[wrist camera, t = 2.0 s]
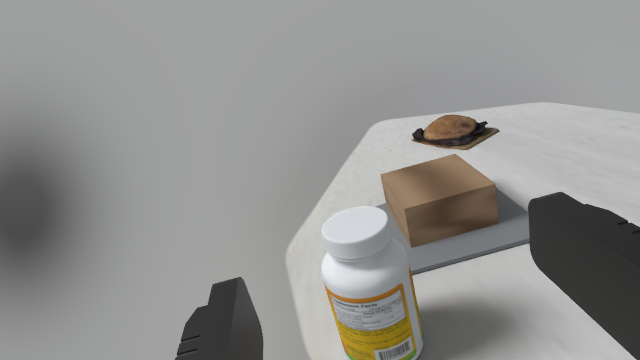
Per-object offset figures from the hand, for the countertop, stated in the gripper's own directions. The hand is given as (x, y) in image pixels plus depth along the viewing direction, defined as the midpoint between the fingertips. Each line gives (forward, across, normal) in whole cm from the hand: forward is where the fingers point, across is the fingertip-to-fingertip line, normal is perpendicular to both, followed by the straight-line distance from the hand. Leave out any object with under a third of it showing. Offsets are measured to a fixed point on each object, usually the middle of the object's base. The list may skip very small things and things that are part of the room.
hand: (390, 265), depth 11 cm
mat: (+24, -9, +14) cm, 29 cm away
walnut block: (+24, -9, +14) cm, 30 cm away
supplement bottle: (+12, 0, +15) cm, 19 cm away
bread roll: (+44, -19, +15) cm, 51 cm away
